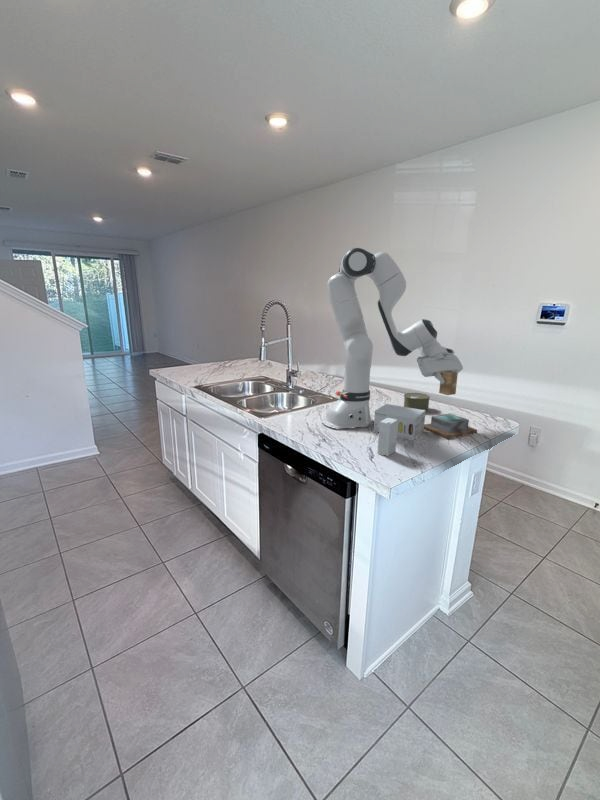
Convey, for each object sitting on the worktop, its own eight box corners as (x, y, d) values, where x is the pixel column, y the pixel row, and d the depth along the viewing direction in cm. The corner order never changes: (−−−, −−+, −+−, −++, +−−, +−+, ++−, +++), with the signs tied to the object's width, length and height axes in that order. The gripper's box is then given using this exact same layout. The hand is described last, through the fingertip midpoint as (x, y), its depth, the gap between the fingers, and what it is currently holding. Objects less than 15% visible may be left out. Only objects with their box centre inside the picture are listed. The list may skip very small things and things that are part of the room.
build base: (446, 439, 142) (448, 425, 140) (421, 428, 154) (422, 415, 153) (476, 433, 148) (478, 419, 146) (450, 423, 160) (451, 410, 159)
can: (432, 408, 182) (433, 395, 180) (422, 414, 173) (423, 400, 172) (409, 404, 190) (410, 391, 188) (399, 409, 181) (399, 396, 179)
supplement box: (372, 432, 150) (374, 410, 148) (385, 423, 161) (386, 403, 158) (413, 440, 141) (415, 417, 139) (424, 431, 151) (426, 409, 149)
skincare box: (384, 448, 133) (386, 416, 130) (396, 451, 130) (398, 419, 127) (376, 453, 129) (378, 421, 126) (388, 457, 126) (390, 423, 123)
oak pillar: (447, 395, 150) (449, 373, 147) (439, 392, 154) (441, 371, 151) (455, 394, 151) (457, 372, 149) (447, 391, 155) (449, 370, 153)
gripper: (419, 352, 150) (435, 380, 144) (456, 349, 158) (472, 375, 152) (411, 361, 155) (425, 389, 149) (447, 358, 163) (462, 384, 157)
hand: (449, 382), depth 151 cm, fingers closed on oak pillar, 4 cm apart
